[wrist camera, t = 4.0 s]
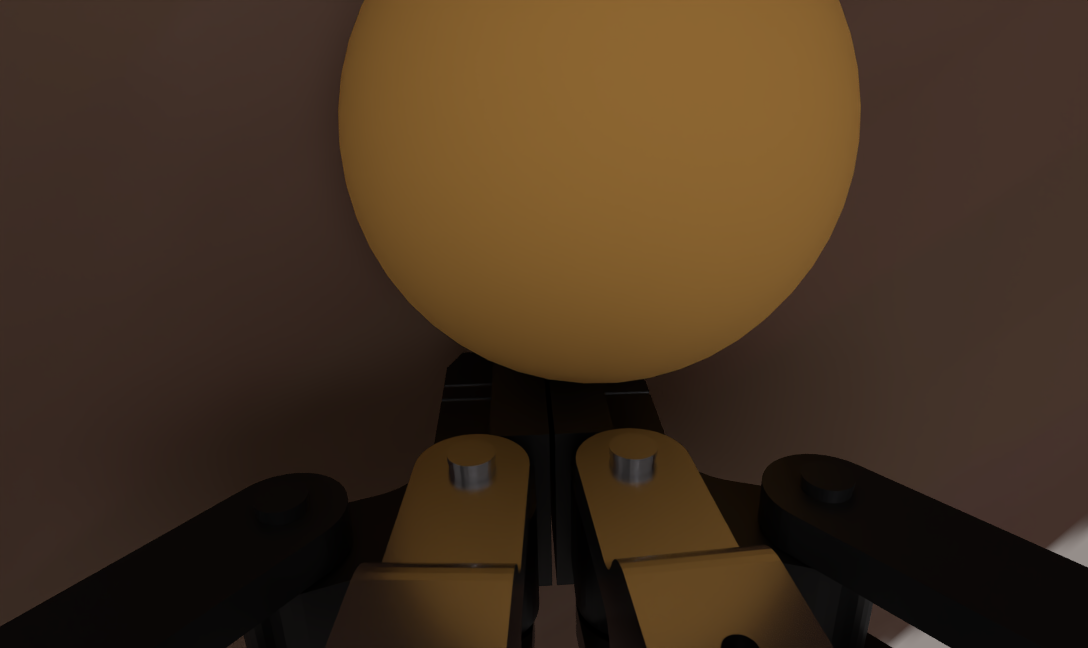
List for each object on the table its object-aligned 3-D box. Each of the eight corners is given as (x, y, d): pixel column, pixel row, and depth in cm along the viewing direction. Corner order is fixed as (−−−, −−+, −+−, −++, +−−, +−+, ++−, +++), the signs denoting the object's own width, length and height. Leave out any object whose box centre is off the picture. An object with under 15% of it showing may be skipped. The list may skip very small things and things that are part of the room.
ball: (365, -24, 11) (215, -294, 6) (747, -47, 12) (994, -329, 6) (403, 357, 12) (308, 476, 6) (760, 328, 13) (991, 417, 7)
